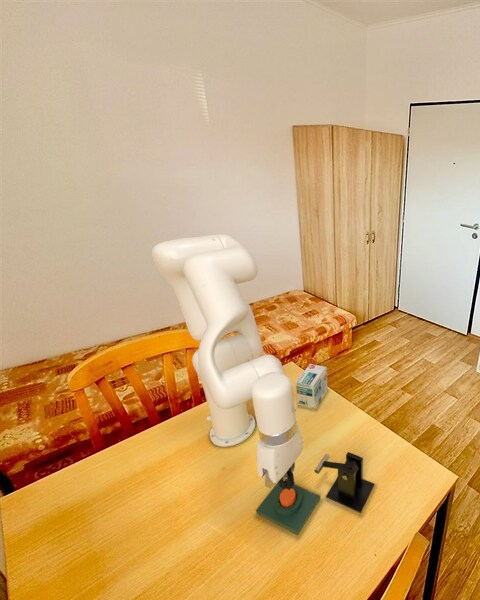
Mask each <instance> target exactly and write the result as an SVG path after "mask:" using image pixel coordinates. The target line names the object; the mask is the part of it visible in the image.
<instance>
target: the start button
mask: <svg viewBox="0 0 480 600" xmlns="http://www.w3.org/2000/svg"><path fill="white" fill-rule="evenodd" d="M295 500H296V494H295V490H294V489H292V488H291V489H290V490H288V489H285V490H283V491H282V492H281V494H280V503H281V505H282V506H284V507H289V506H291V505H292V504H293V503H294V502H295Z"/></svg>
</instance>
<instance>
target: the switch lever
mask: <svg viewBox="0 0 480 600" xmlns="http://www.w3.org/2000/svg"><path fill="white" fill-rule="evenodd" d="M330 457H331V456H330V454H328V453H325V454H324V456H323V457H322V459H321V460H320V461H319V462H318V464H317V465H316V467H315V469H314V471H313V472H314V473H315V474H317V475H319V474H320V473H321V472H322V470H323V468H328V469H335V470H338V467H339V465H342V466H344V467H347V468H349V469H351V470H354V471H356V472H357V470H358V469H359V468H358V465H357V463H356V461H351V460H347V461H346V460H345V462H343V463H342V462H335V461H329V460H330Z"/></svg>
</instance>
